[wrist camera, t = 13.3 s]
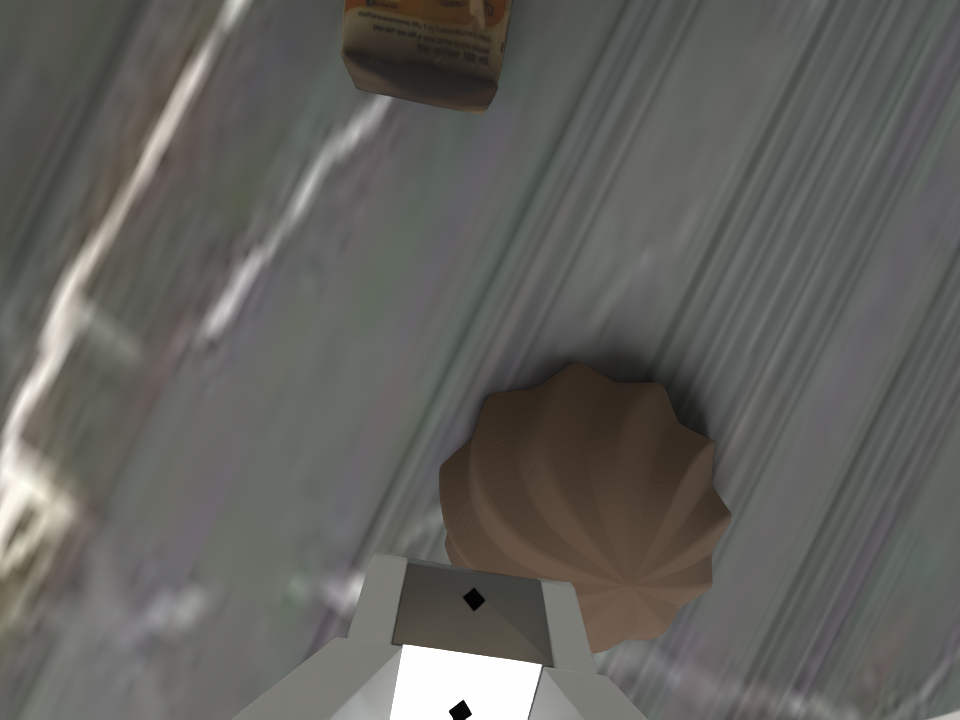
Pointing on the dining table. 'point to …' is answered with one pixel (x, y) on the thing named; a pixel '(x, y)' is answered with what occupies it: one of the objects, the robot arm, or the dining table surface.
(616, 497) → the decorative dome
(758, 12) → the dining table surface
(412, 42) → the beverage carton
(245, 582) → the dining table surface
